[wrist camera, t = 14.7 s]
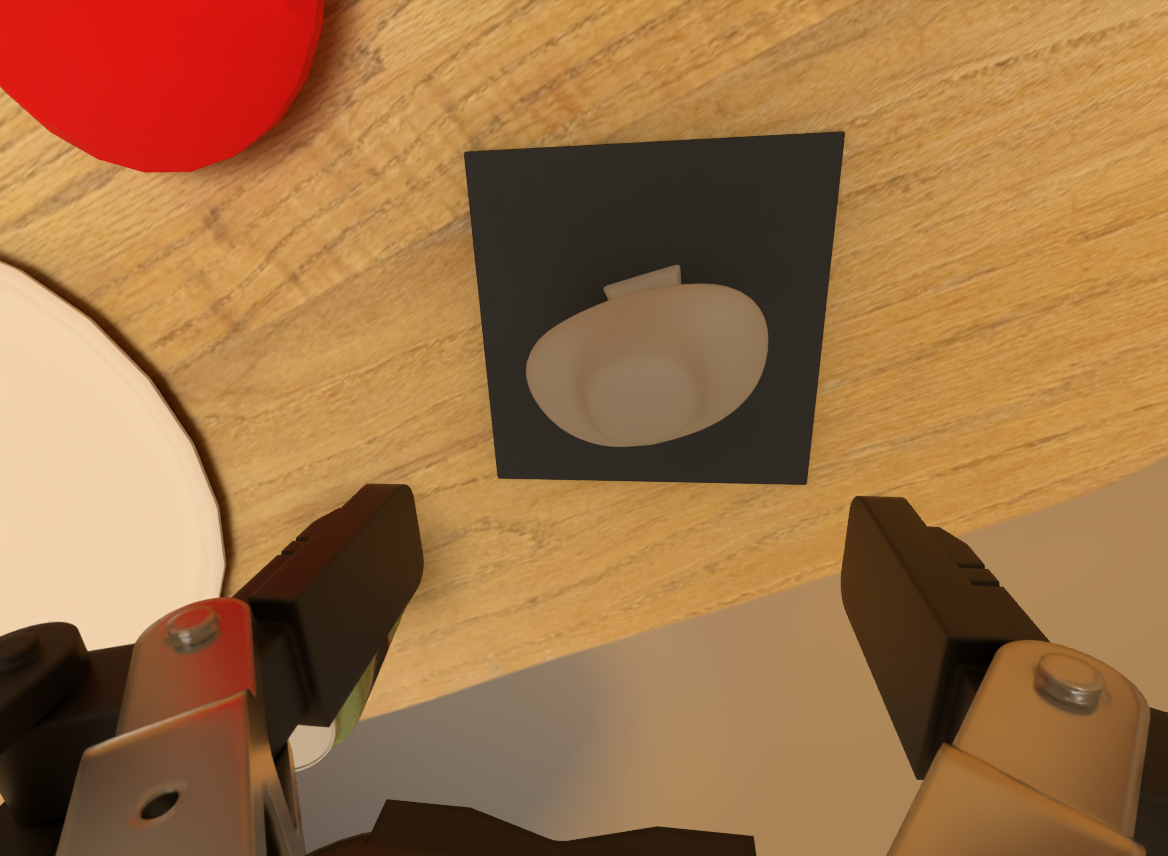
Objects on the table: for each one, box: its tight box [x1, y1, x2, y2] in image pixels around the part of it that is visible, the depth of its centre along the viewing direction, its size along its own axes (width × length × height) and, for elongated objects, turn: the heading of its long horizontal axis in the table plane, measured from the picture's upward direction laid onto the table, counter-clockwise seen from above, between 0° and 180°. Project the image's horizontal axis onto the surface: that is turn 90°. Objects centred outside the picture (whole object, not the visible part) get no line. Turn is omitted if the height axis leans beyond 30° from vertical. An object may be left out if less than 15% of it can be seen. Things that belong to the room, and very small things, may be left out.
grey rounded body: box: [526, 265, 768, 447], centre depth 21 cm, size 8×5×12 cm
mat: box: [464, 132, 845, 485], centre depth 27 cm, size 15×15×1 cm
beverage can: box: [289, 607, 406, 771], centre depth 28 cm, size 6×7×12 cm
